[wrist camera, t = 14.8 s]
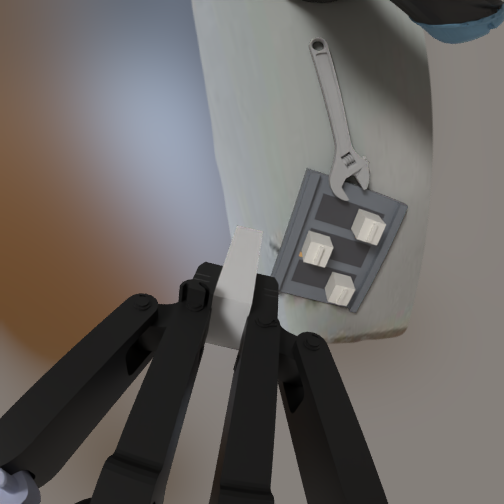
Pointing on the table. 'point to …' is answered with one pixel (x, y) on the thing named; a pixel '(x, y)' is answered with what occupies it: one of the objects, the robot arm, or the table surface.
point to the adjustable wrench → (338, 125)
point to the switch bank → (334, 238)
